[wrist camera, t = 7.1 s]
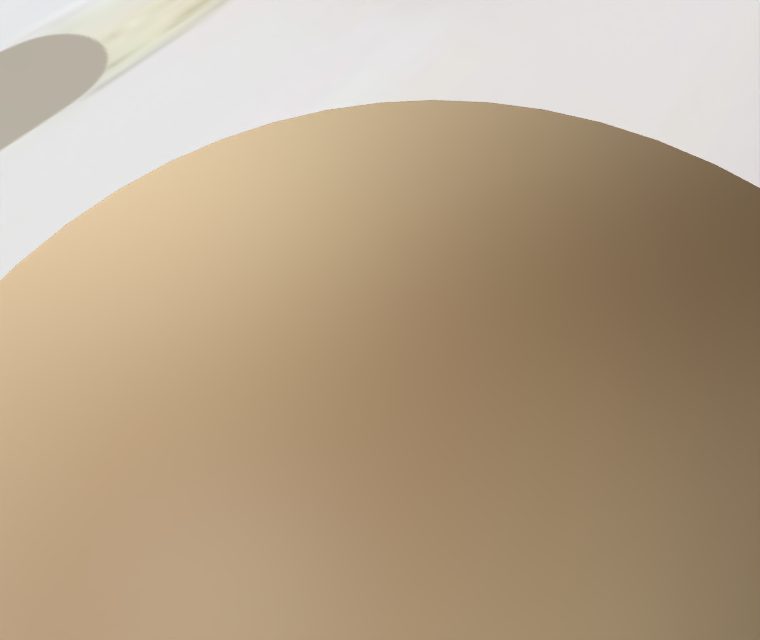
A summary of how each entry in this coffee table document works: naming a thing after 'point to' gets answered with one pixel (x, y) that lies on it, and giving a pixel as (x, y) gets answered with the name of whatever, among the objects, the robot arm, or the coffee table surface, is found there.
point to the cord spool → (390, 390)
